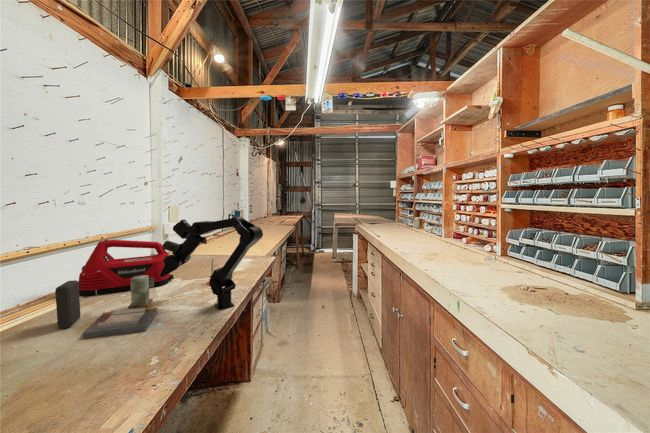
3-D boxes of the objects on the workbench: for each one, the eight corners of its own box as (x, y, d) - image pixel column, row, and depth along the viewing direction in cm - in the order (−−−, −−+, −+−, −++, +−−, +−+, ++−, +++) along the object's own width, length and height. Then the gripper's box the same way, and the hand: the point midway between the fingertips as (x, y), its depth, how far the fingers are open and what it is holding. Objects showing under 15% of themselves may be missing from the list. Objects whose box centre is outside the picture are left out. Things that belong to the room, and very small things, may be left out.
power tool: (174, 285, 149) (173, 237, 147) (74, 299, 128) (71, 244, 126) (172, 277, 162) (170, 233, 160) (81, 289, 141) (77, 239, 139)
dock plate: (157, 312, 114) (157, 304, 114) (145, 331, 99) (145, 321, 98) (103, 318, 108) (103, 309, 108) (82, 338, 93) (81, 328, 93)
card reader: (68, 319, 108) (66, 280, 106) (82, 317, 109) (79, 279, 108) (56, 330, 99) (53, 287, 98) (70, 328, 100) (67, 286, 99)
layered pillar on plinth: (152, 304, 123) (151, 274, 122) (148, 310, 116) (146, 279, 115) (134, 305, 121) (132, 275, 120) (128, 312, 114) (126, 280, 113)
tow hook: (230, 283, 153) (217, 280, 157) (230, 260, 151) (217, 257, 155) (218, 288, 145) (205, 285, 149) (218, 263, 144) (205, 260, 148)
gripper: (180, 231, 131) (157, 258, 130) (166, 236, 113) (138, 267, 112) (200, 246, 133) (177, 273, 132) (189, 253, 115) (162, 284, 114)
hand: (164, 273), depth 122 cm, fingers open, 9 cm apart
